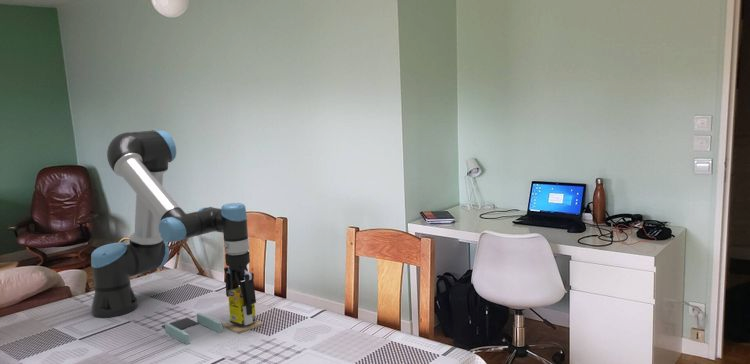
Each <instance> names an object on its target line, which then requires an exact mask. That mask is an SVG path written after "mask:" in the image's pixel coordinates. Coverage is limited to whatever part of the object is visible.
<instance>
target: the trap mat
mask: <svg viewBox="0 0 750 364" xmlns="http://www.w3.org/2000/svg"><path fill="white" fill-rule="evenodd" d="M168 323H169V324H171V325H173V326H175V327H176V328H178V329H180V330H182V331H184V330H185V329H188V328H192V327H194V326H197V325H199V324H200V323H198V322H197V321H195V320H193V319H191V318H190V317H185V318H184V317H183V318H181V319H179V320H175V321H172V322H168ZM160 326H161V328H163V329H165V324H162V325H160Z"/></svg>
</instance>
